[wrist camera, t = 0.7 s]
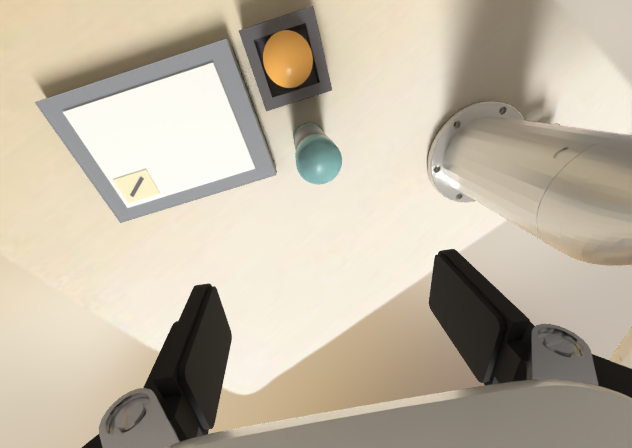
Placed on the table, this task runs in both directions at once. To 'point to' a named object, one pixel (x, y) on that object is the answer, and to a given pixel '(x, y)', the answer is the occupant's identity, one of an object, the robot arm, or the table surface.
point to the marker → (316, 154)
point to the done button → (287, 59)
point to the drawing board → (164, 131)
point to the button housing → (254, 47)
